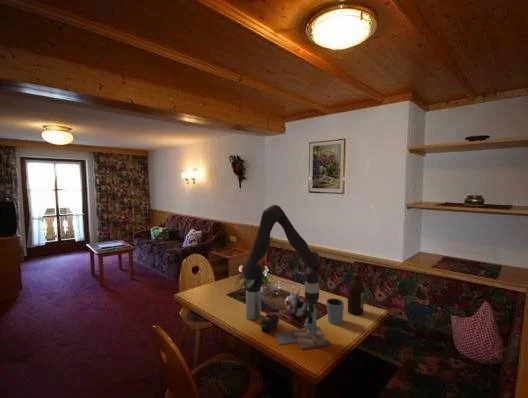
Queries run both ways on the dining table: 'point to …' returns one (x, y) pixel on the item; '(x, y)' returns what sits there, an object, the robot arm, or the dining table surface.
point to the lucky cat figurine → (296, 305)
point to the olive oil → (355, 296)
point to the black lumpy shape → (269, 323)
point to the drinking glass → (335, 311)
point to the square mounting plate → (310, 338)
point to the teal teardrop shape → (312, 321)
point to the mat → (285, 338)
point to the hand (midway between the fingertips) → (311, 320)
